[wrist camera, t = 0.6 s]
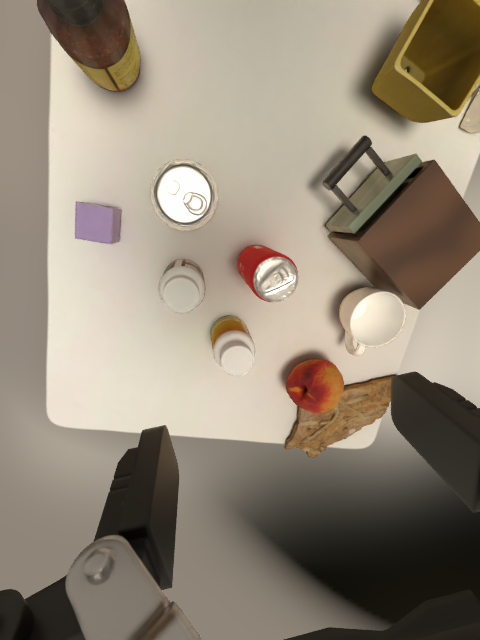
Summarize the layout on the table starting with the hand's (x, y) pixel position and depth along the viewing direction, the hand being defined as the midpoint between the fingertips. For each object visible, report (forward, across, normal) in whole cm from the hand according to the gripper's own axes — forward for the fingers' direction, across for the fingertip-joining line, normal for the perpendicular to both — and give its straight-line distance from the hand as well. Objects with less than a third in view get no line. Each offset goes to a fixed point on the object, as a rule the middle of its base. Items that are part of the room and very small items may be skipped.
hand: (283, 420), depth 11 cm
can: (+34, +2, -9) cm, 36 cm away
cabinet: (+34, -24, 0) cm, 42 cm away
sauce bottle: (+34, +8, -24) cm, 43 cm away
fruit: (+34, -11, +19) cm, 41 cm away
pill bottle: (+34, +5, +1) cm, 35 cm away
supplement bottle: (+34, 0, +10) cm, 36 cm away
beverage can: (+34, -5, +1) cm, 35 cm away
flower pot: (+35, -26, -18) cm, 47 cm away
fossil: (+37, -16, +33) cm, 52 cm away
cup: (+34, -18, +11) cm, 40 cm away
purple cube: (+34, +13, -8) cm, 37 cm away
